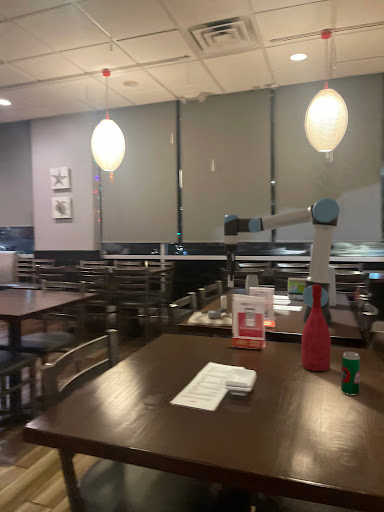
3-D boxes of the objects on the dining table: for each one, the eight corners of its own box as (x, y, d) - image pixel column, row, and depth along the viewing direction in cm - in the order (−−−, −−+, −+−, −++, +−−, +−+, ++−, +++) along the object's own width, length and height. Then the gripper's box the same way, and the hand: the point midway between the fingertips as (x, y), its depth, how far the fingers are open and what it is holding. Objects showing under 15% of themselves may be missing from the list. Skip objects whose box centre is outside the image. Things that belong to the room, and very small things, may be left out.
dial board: (239, 315, 219) (239, 311, 219) (237, 327, 194) (237, 321, 194) (194, 314, 224) (194, 309, 223) (187, 325, 198) (187, 320, 198)
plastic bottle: (338, 307, 244) (339, 263, 242) (314, 307, 244) (315, 263, 242) (330, 302, 259) (331, 261, 257) (307, 302, 259) (308, 261, 257)
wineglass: (258, 307, 244) (258, 274, 242) (259, 310, 235) (259, 276, 234) (244, 307, 245) (244, 274, 243) (245, 309, 236) (245, 276, 235)
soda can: (357, 397, 111) (358, 357, 111) (339, 393, 114) (340, 354, 113) (360, 391, 116) (361, 352, 115) (342, 388, 118) (343, 350, 118)
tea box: (288, 299, 269) (288, 279, 268) (287, 297, 279) (287, 277, 278) (310, 300, 267) (311, 279, 266) (308, 298, 277) (309, 277, 276)
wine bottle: (330, 364, 139) (331, 283, 137) (330, 374, 130) (332, 287, 128) (301, 362, 142) (303, 282, 140) (300, 371, 133) (301, 285, 131)
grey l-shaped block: (216, 319, 204) (216, 300, 203) (205, 317, 208) (205, 298, 207) (230, 314, 214) (230, 296, 214) (220, 312, 219) (220, 295, 218)
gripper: (240, 243, 200) (240, 288, 202) (235, 243, 214) (234, 284, 215) (226, 244, 200) (226, 288, 201) (221, 243, 213) (221, 285, 215)
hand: (230, 286), depth 208 cm, fingers closed
